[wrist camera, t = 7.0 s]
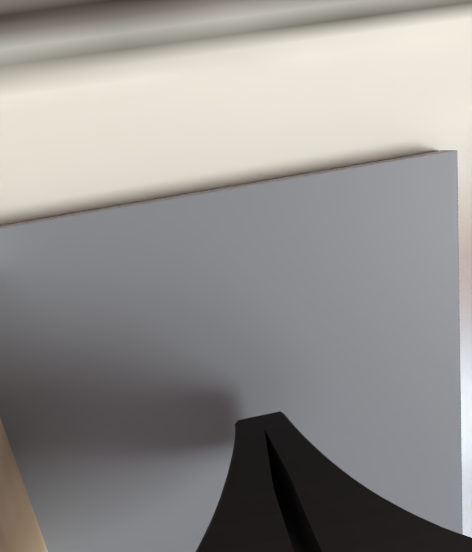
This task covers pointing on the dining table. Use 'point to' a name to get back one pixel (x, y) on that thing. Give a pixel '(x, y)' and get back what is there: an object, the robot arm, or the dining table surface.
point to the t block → (16, 506)
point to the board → (233, 347)
